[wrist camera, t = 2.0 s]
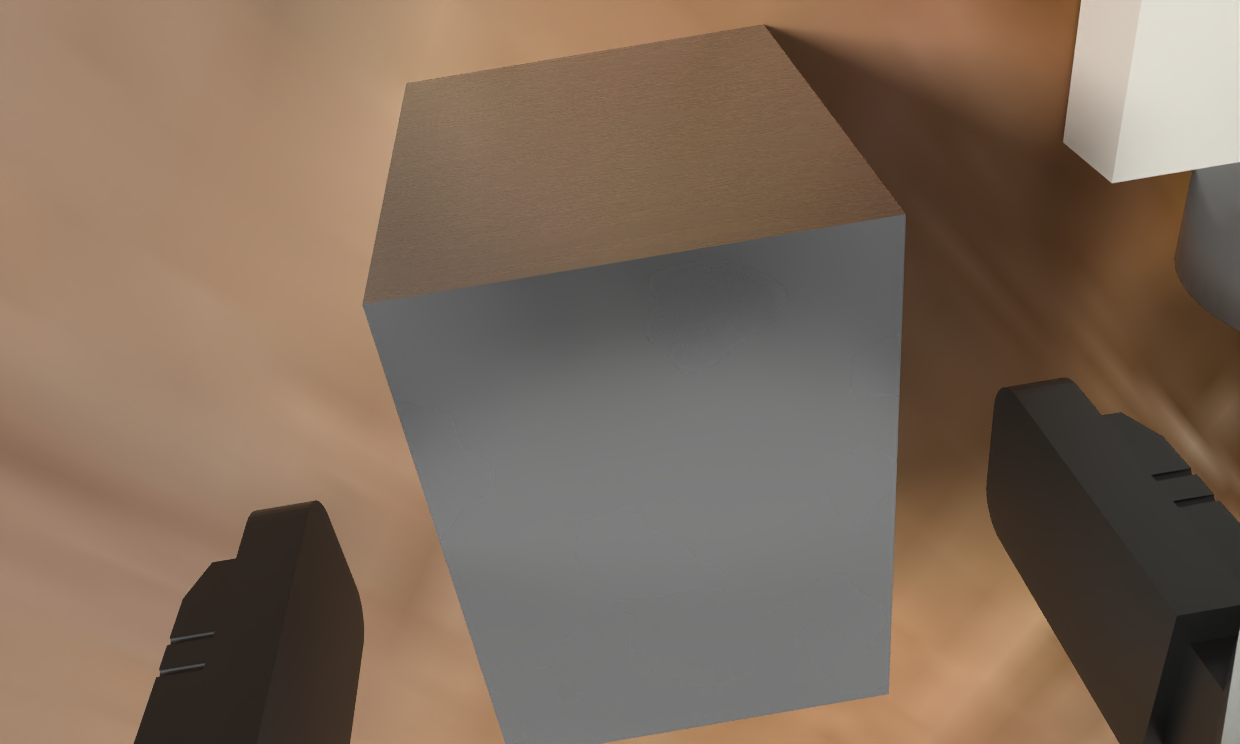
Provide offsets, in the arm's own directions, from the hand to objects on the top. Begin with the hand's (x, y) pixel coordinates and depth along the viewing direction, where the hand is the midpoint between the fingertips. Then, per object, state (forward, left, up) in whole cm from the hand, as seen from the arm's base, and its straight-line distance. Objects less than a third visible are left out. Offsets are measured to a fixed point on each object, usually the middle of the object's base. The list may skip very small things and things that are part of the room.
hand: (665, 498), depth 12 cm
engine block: (0, 0, -5) cm, 5 cm away
